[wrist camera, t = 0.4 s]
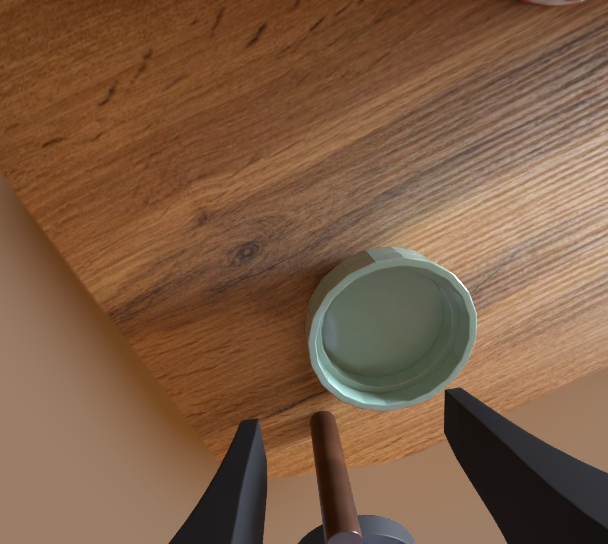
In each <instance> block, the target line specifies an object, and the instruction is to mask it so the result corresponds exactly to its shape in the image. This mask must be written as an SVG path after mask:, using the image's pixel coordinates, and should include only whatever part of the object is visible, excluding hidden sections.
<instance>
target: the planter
mask: <svg viewBox="0 0 608 544" xmlns="http://www.w3.org/2000/svg"><path fill="white" fill-rule="evenodd" d="M518 1H521V2H524V3H527V4H531V5H537V6H549V7H555V6H566V5H572V4H576V3H580V2H583V1H587V0H518Z"/></svg>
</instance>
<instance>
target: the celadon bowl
mask: <svg viewBox="0 0 608 544" xmlns="http://www.w3.org/2000/svg"><path fill="white" fill-rule="evenodd" d="M476 326H477V314H476V311H475V308H474V305H473V302H472V299H471V296H470V293H469V292H468V290H467V289H466V288H465V287H464V286H463V285H462V283H461V282H460V281H459V280H458V279H457V277H456V276H455V275H454V274H453V273H451V272H450V271H448V270H447V269H445V268H444V267H442V266H441V265H439V264H438V263H436V262H435V261H433V260H431V259H429V258H427V257H426V256H424V255H422V254H420V253H418V252H417V251H414V250H408V249H402V248H396V247H385V248H378V249H371V250H365V251H362V252H360V253H358V254H356V255H354V256H352V257H350V258H348V259H346V260H344V261H342V262H341V263H339V264H338V265H337V266H336V267H335V268H334V269H333V270H331V271H330V272H329V273H328V274H327V275H326V276H325V277H324V278H323V279H322V280H321V281H320V283H319V285H318V286H317V288H316V290H315V292H314V293H313V295H312V297H311V299H310V301H309V304H308V308H307V313H306V318H305V332H306V338H307V345H308V351H309V357H310V363H311V366H312V368H313V370H314V372H315V373H316V375H317V377H318V379H319V380H320V382H321V384H322V385H323V386H324V387H325V388H326V389H327V390H329V391H330V392H331V393H332V394H333V395H334V396H335V397H337V398H338V399H339V400H341V401H343V402H346V403H348V404H351V405H353V406H356V407H358V408H361V409H368V410H378V411H389V410H395V409H402V408H408V407H411V406H413V405H416V404H418V403H420V402H422V401H425V400H427V399H429V398H431V397H433V396H435V395H436V394H437V393H439V392H440V391H441V390H442V389H444V388H445V387H446V386H448V385H449V384H450V383H451V382H452V381H453V380H454V379H455V378H456V376H457V375H458V374H459V372H460V371H461V370H462V368H463V367H464V366H465V364H466V363H467V361H468V359H469V356H470V354H471V351H472V348H473V346H474V343H475V340H476Z"/></svg>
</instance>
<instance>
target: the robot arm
mask: <svg viewBox="0 0 608 544" xmlns="http://www.w3.org/2000/svg"><path fill="white" fill-rule="evenodd" d="M444 433H445V435H446V437H447V440H448V442H449V444H450V446H451V448H452V450H453V452H454V454H455V456H456V458H457V460H458V462H459V463H460V465H461V467H462V468H463V470H464V472H465V473H466V475H467V477H468V478H469V480H470V481H471V483H472V485H473V486H474V488H475V489H476V491H477V492H478V494H479V496H480V497H481V499H482V501H483V502H484V504H485V505H486V507H487V509H488V510H489V512H490V513H491V515H492V516H493V518H494V520H495V522H496V523H497V525H498V527H499V529H500V530H501V532H502V534H503V536H504V538H505V540H506V542H507V544H608V473H606V472H604V471H601V470H599V469H597V468H595V467H593V466H590V465H588V464H586V463H584V462H582V461H580V460H578V459H576V458H574V457H571V456H570V455H568V454H566V453H564V452H562V451H560V450H558V449H556V448H554V447H553V446H551V445H549V444H547V443H545V442H544V441H542V440H540V439H538V438H537V437H535V436H533V435H532V434H530V433H528V432H526V431H525V430H523V429H522V428H520V427H518V426H517V425H515V424H514V423H512V422H511V421H509V420H508V419H506V418H505V417H503V416H501V415H500V414H498V413H497V412H495V411H494V410H493V409H491V408H490V407H488V406H487V405H485V404H484V403H482V402H481V401H479V400H478V399H477V398H475V397H474V396H472V395H471V394H469V393H468V392H466V391H465V390H463V389H462V388H454V389H447V390H445V408H444ZM266 498H267V459H266V454H265V449H264V444H263V439H262V434H261V429H260V424H259V419H258V418H257V419H250V420H244V421H242V422H241V423H240V425H239V427H238V430H237V432H236V434H235V437H234V439H233V441H232V443H231V445H230V447H229V450H228V452H227V454H226V455H225V457H224V459H223V461H222V463H221V465H220V467H219V469H218V471H217V473H216V475H215V476H214V478H213V479H212V481H211V483H210V485H209V487H208V488H207V490H206V491H205V493H204V495H203V496H202V498H201V499H200V501H199V503H198V504H197V505H196V507H195V509H194V510H193V511H192V513H191V514H190V516H189V517H188V519H187V520H186V521H185V523H184V524H183V525H182V527H181V528H180V529H179V531H178V532H177V533H176V535H175V536H174V537H173V539H172V540H171V541H170V542H169V544H263V533H264V521H265V510H266Z"/></svg>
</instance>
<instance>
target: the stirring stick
mask: <svg viewBox="0 0 608 544" xmlns="http://www.w3.org/2000/svg"><path fill="white" fill-rule="evenodd" d="M310 429H311V437H312V444H313V452H314V460H315V468H316V475H317V483H318V491H319V498H320V506H321V514H322V522H323V529H324V537H325V544H363V538H362V534H361V529H360V525H359V521H358V516H357V512H356V507H355V503H354V499H353V494H352V490H351V486H350V482H349V477H348V472H347V468H346V464H345V459H344V455H343V450H342V446H341V442H340V437H339V433H338V429H337V424H336V420H335V417H334V415H333V414H331V413H330V412H327V411H320V412H317V413H315V414H314V415H313V416H312V417H311V419H310Z"/></svg>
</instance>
